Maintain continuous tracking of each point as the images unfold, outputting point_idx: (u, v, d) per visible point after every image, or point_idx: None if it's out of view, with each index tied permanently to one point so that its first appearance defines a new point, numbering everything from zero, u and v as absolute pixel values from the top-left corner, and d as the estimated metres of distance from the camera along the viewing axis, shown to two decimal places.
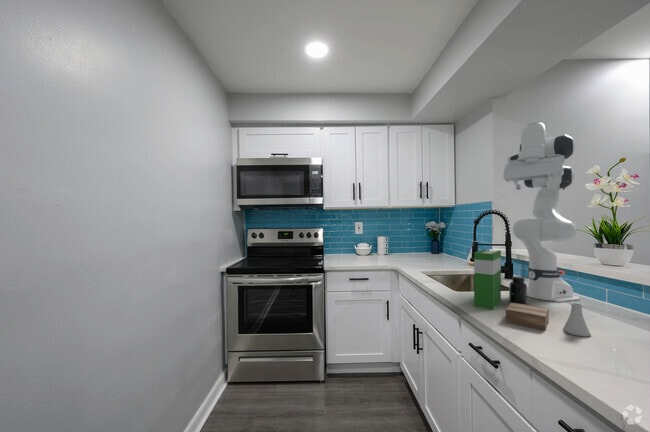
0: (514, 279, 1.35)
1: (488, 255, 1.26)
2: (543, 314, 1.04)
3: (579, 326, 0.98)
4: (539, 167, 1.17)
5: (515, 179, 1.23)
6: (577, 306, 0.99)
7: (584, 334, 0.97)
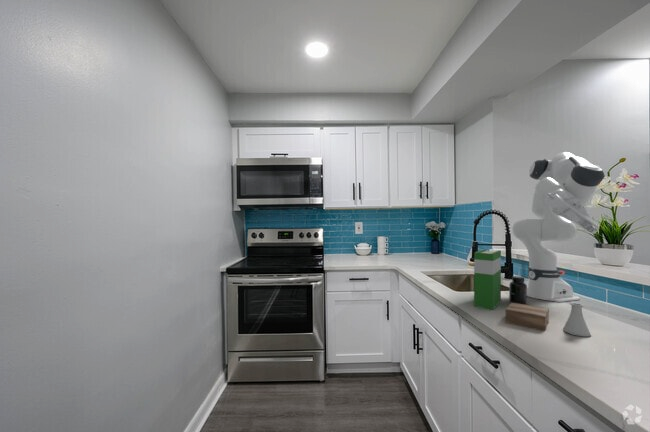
0: (514, 279, 1.35)
1: (488, 255, 1.26)
2: (543, 314, 1.04)
3: (579, 326, 0.98)
4: None
5: (585, 227, 1.08)
6: (577, 306, 0.99)
7: (584, 334, 0.97)
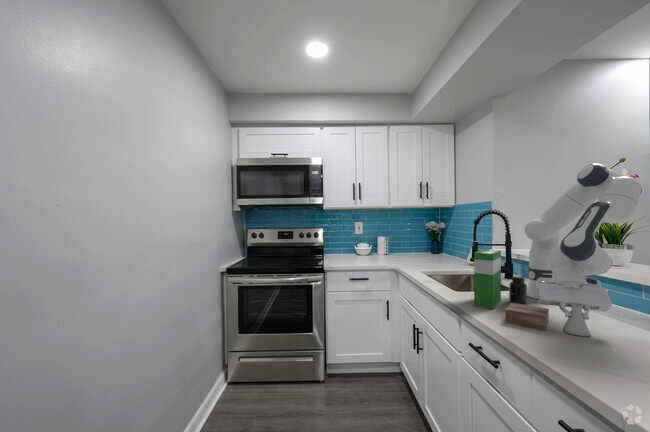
0: (514, 279, 1.35)
1: (488, 255, 1.26)
2: (543, 314, 1.04)
3: (579, 326, 0.98)
4: None
5: None
6: (577, 306, 0.99)
7: (584, 334, 0.97)
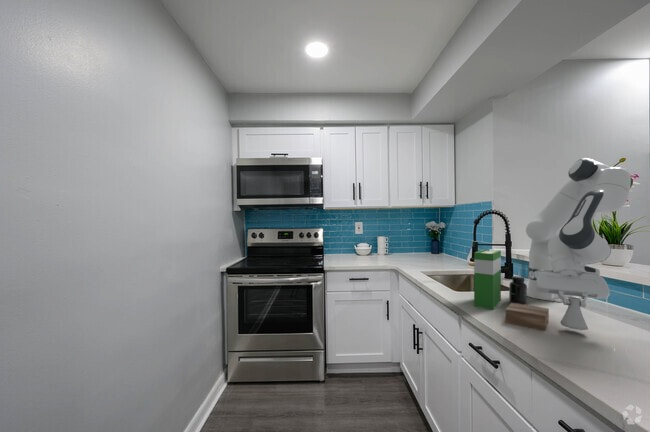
0: (514, 279, 1.35)
1: (488, 255, 1.26)
2: (543, 314, 1.04)
3: (577, 320, 0.99)
4: None
5: None
6: (575, 300, 1.00)
7: (582, 328, 0.98)
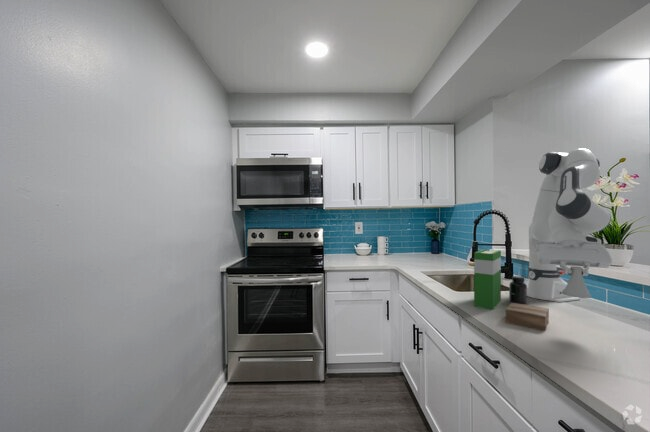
0: (514, 279, 1.35)
1: (488, 255, 1.26)
2: (543, 314, 1.04)
3: (580, 288, 0.98)
4: None
5: None
6: (577, 269, 0.99)
7: (585, 296, 0.97)
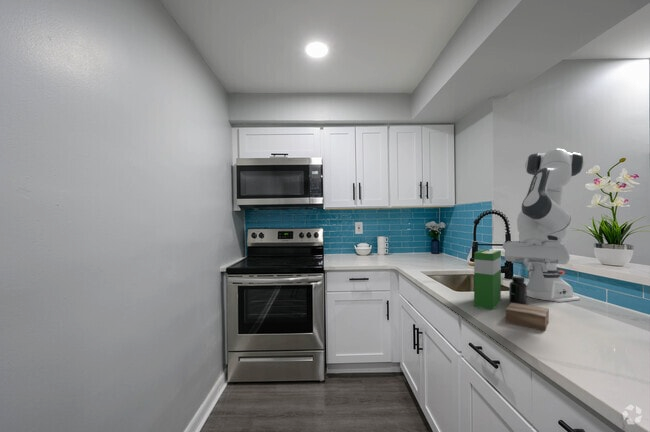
0: (514, 279, 1.35)
1: (488, 255, 1.26)
2: (543, 314, 1.04)
3: (540, 283, 1.06)
4: None
5: None
6: (538, 265, 1.07)
7: (544, 290, 1.05)
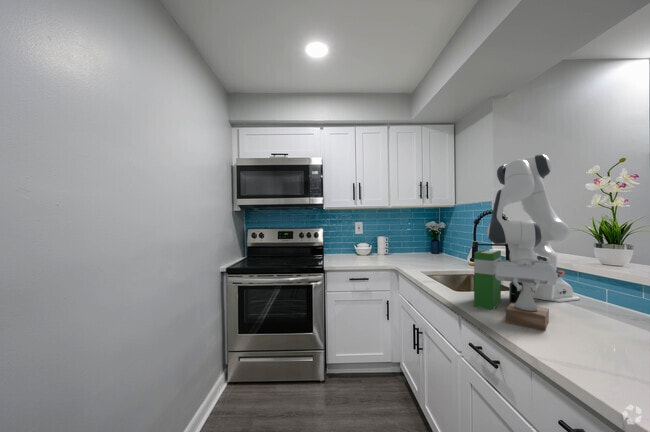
0: None
1: (488, 255, 1.26)
2: (543, 314, 1.04)
3: (528, 302, 1.08)
4: None
5: None
6: (527, 284, 1.09)
7: (532, 309, 1.07)
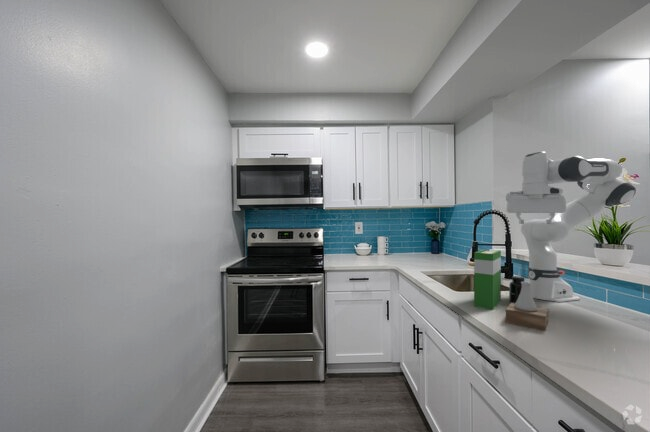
0: (514, 279, 1.35)
1: (488, 255, 1.26)
2: (543, 314, 1.04)
3: (528, 302, 1.08)
4: None
5: None
6: (526, 284, 1.09)
7: (532, 309, 1.07)
